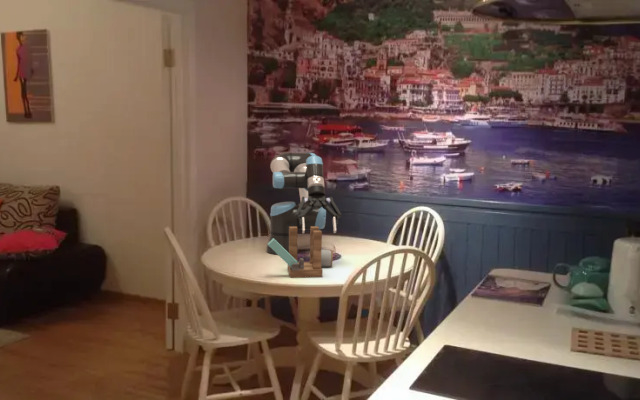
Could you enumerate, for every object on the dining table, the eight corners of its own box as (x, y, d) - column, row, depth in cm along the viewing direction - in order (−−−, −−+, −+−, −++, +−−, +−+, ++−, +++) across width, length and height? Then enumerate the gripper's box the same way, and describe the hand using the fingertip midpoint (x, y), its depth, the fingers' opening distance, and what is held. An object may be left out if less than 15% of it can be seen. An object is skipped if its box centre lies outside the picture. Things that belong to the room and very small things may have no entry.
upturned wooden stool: (287, 269, 263) (288, 226, 261) (317, 268, 265) (318, 226, 262) (290, 277, 250) (291, 232, 247) (322, 277, 252) (323, 232, 249)
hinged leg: (293, 268, 255) (267, 243, 252) (299, 263, 255) (273, 237, 252) (294, 271, 251) (268, 245, 248) (300, 265, 251) (273, 239, 248)
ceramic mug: (332, 268, 266) (333, 251, 265) (313, 268, 265) (314, 250, 264) (330, 262, 276) (331, 245, 275) (312, 262, 276) (312, 245, 275)
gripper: (288, 184, 271) (291, 228, 261) (345, 184, 274) (349, 227, 265) (287, 192, 277) (289, 235, 268) (342, 192, 281) (346, 235, 271)
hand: (319, 231), depth 266 cm, fingers open, 13 cm apart
